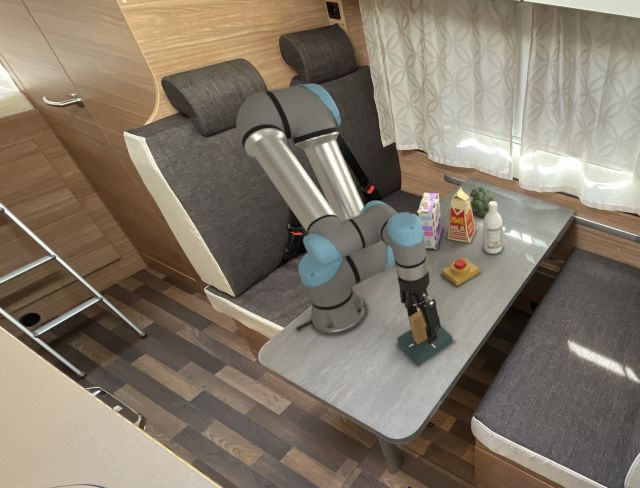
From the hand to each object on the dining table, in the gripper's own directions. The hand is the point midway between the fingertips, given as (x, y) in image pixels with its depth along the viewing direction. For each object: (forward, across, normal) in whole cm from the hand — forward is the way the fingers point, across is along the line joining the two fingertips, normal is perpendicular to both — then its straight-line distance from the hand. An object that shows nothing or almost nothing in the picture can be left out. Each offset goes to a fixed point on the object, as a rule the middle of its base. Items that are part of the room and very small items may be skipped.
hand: (423, 332), depth 114 cm
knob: (+2, 0, 0) cm, 2 cm away
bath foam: (+5, +20, -45) cm, 50 cm away
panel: (+5, 0, 0) cm, 5 cm away
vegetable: (+5, +42, -57) cm, 71 cm away
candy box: (+5, +40, -32) cm, 52 cm away
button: (+2, +17, -27) cm, 32 cm away
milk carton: (+5, +35, -42) cm, 55 cm away
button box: (+5, +17, -27) cm, 32 cm away
